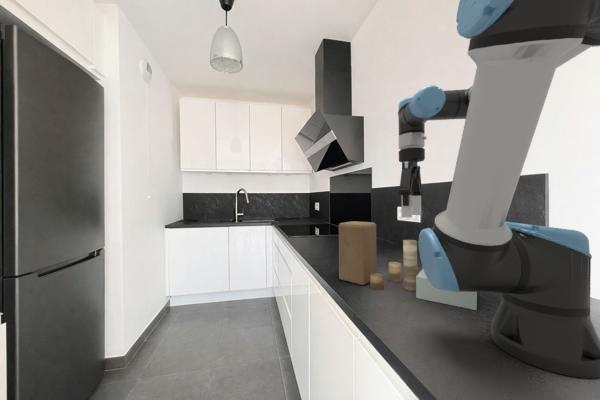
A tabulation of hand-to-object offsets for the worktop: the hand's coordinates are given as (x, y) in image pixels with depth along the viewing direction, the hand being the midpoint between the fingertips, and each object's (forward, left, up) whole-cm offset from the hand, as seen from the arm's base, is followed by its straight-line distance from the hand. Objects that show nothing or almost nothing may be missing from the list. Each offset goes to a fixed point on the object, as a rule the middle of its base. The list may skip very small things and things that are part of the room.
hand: (412, 216), depth 78 cm
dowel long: (-1, 0, -23) cm, 23 cm away
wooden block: (-2, +17, -23) cm, 29 cm away
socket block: (-1, -10, -23) cm, 25 cm away
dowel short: (-6, +10, -23) cm, 25 cm away
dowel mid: (+4, +7, -23) cm, 24 cm away
